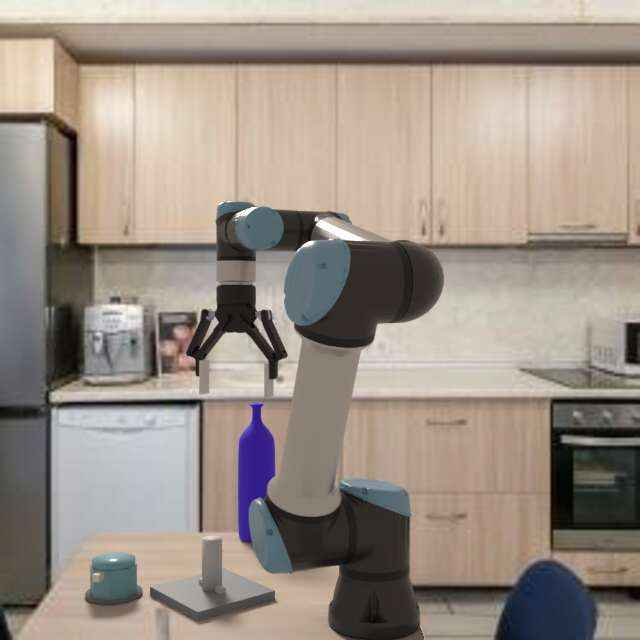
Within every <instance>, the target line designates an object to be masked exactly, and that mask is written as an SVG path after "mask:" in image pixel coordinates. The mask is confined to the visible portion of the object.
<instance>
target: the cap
mask: <svg viewBox="0 0 640 640" xmlns="http://www.w3.org/2000/svg"><path fill="white" fill-rule="evenodd" d="M89 571H90V572H89V573H90V575H89V576H90V577H89V579H90V584H89V586H90V587H89V589H90V592H91V594H92V596H93V598H97V599H104V600H114V599H121V598H127V597H129V596H131V595H132V594H134V593H136V592H137V585H138V564H137V562H136V556H135V555H134V554H132V553H129V552H119V551H118V552H116V551H115V552H106V553H101V554H98V555H95V556H94V557H92V558H91V564H90V565H89Z"/></svg>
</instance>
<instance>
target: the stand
mask: <svg viewBox="0 0 640 640" xmlns="http://www.w3.org/2000/svg"><path fill="white" fill-rule="evenodd" d="M149 596H151V597H153V598H155V599H157V600H158V601H160V602H162V603H164V604H166V605H168V606H169V607H172V608H173V609H175V610H176V611H179V612H180V613H182V614H184V615H186V616H187V617H190V618H191V619H193V620H194V621H197V622H199V621H203V620H206V619H210V618H213V617H218V616H220V615H224V614H227V613H231V612H234V611H237V610H241V609H246V608H248V607H251V606H256V605H259V604H262V603H265V602H269V601H273V600H276V590H275V589H272V588H270V587H268V586H266V585H263V584H261V583H259V582H256V581H255V580H252V579H249V578H247V577H245V576H243V575H241V574H239V573H237V572H234V571H231V570H230V569H227V568H223V537H222V536H220V535H207V536H203V537H202V538H201V574H200V573H199V574H195V575H191V576H187V577H183V578H179V579H174V580H172V581H167V582H163V583H160V584H154V585H151V586H149Z"/></svg>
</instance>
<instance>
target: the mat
mask: <svg viewBox="0 0 640 640" xmlns="http://www.w3.org/2000/svg"><path fill="white" fill-rule="evenodd" d="M142 596H143V587H142V586H141V585H138V584H137V592H136V593H134V594H132V595H131V596H129V597H127V598H121V599H114V600H104V599H97V598H93V596H92V594H91V592H90V588H89V589H87V590H86V591H85V593H84V599H85V600H86V602H88V603H90V604H92V605H98V606H116V605H117V606H118V604H119V605H124V604H127V603H128V602H129V603H131V602H130V601H132V602H134V601H136V599H137V600H138V599H139V598H140V599H141V597H142ZM123 603H124V604H123ZM129 603H128V604H129Z"/></svg>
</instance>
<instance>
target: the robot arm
mask: <svg viewBox="0 0 640 640" xmlns="http://www.w3.org/2000/svg"><path fill="white" fill-rule="evenodd" d="M215 227H216V230H215V231H216V232H215V233H216V238H215V239H216V240H215V241H216V246H215V247H216V269H215V270H216V275H215V276H216V277H215V281H216V282H217V283H219V284H218V285H217V286H216V290H215V291H216V292H215V294H216V296H215V297H216V302H215V303H216V309H215V310H213V309H211V308H203V309H202V310H201V312H200V321H199V323H198V325H197V327H196V329H195V332H194V333H193V335H192V338H191V340H190V342H189V344H188V347H187V349H186V353H185V355H186V357H190V358H192V359H194V361H195V368H194V369H195V371H194V372H195V377H198V379H199V380H198V382H199V383H198V384H199V385H198V387H199V388H198V393H199V395H206V394H210V359H207V356H208V355H209V354H210V352H211V351H212V350H213V348H214V347H215V346H216V344H217V343H219V341H220V339H222V337H223V335H225V334H226V333H227V334H232V333H237V334H243V333H245V334H246V335H247V336H249V337H250V338H251V340H252V341H253V342H254V344H255V345H256V346H257V348H258V349H259V350H260V352H261V353H262V354H263V356H264V357H265V358H266V359H267V361H266V362H264V364H263V365H264V368H263V369H264V372H263V373H264V374H263V378H264V380H263V383H264V384H263V385H264V386H263V387H264V388H263V390H264V392H263V394H264V395H263V398H270V397H273V396H274V387H275V386H274V380H277V379H278V377H279V361H281V360H284V359H286V358H288V356H289V355H288V352H287V350H286V348H285V345H284V343H283V341H282V339H281V337H280V333H278V330H277V327H276V326H275V323H274V321H273V312H272V310H271V309H270V308H269V309H268V308H266V309H261V310H257V308H256V304H257V287H256V286H255V285H253V283H256V282H257V277H256V276H257V274H256V273H257V269H256V268H257V263H256V262H257V251H264V252H265V251H266V252H267V251H271V252H295V253H294V255H293V256H292V258H291V260H290V262H289V265H288V268H287V271H286V273H285V274H286V275H285V279H284V284H283V294H284V299H283V304H284V310H285V312H286V316H287V318H288V319H289V320H290V322H292V323H294V324H293V329H294V332H295V333H296V334H297V335H298V336H299V338H300V339H301V345H300V351H299V357H298V363H297V368H296V369H297V370H296V374H295V380H294V386H293V390H292V391H293V393H292V398H291V404H290V410H289V415H288V422H287V427H286V434H285V439H284V445H283V451H282V457H281V463H280V470H279V473H278V474H275V476H274V477H273V478H272V479H271V480H270V481H269V483H268V486H267V492H266V497H265V498H258V499H255V500H254V501H252V502H251V504H250V507H249V527H250V534H251V539H252V542H251V543H252V547H253V550H254V553H255V556H256V558H257V560H258V562H259V564H260V566H261V567H262V569H263V570H264V571H266V572H267V573H269V574H274V575H275V574H289V575H290V574H293V573H295V572H303V571H310V570H316V569H317V570H318V569H322V568H329V567H338V576H337V580H336V583H335V587H334V590H333V591H334V592H333V596H332V600H331V601H330V603H329V605H328V610H327V613H328V614H327V615H328V617H327V621H328V625H329V626H330V628H332V629H333V630H334V631H335V632H337V633H339V634H342V635H345V636H348V637H351V638H356V639H362V640H392V639H398V638H402V637H405V636H409V635H411V634H413V633H415V632H416V631H417V630H418V629H419V627H420V626H421V611H420V610H421V608H420V605H419V603H417V598H416V593H415V590H414V587H413V584H412V579H411V577H410V576H411V574H410V573H411V572H410V570H411V568H410V567H411V566H410V565H411V561H410V560H411V559H410V558H411V554H410V553H411V551H410V550H411V517H412V513H411V511H412V510H411V501H410V495H409V493H408V491H407V489H405V488H404V487H402V486H400V485H398V484H396V483H391V482H387V481H382V480H378V479H371V478H359V477H351V478H350V477H349V478H345V479H341V480H340V481H339V485H336V484H335V483H336V479H337V478H336V477H337V472H338V467H339V463H340V458H341V454H342V453H341V452H342V447H343V442H344V437H345V433H346V428H347V423H348V418H349V414H350V413H349V411H350V407H351V402H352V397H353V392H354V388H355V382H356V377H357V373H358V367H359V363H360V357H361V353H362V351H363V350H365V349H367V348H368V347H371V346H372V344H373V343H374V341H375V337H376V331H377V329H378V325H381V324H382V325H383V324H403V323H407V322H412V321H414V320H416V319H419V318H421V317H423V316H424V315H426V314H427V313H429V312H430V311H431V310H432V309H433V308H434V307H435V306H436V304H437V303H438V302H439V299H440V298H441V295H442V293H443V290H444V289H443V288H444V285H445V275H444V274H445V273H444V268H443V266H442V263H441V261H440V259H439V258H438V257H437V255H436V254H435V253H434V252H433V251H432V250H430V248H427V247H426V246H424V245H421V244H418V243H416V242H415V241H412V240H408V239H397V240H391V239H389V238H387V237H384V236H381V235H379V234H377V233H374V232H372V231H369V230H368V229H364V228H362V227H360V226H358V225H355V224H353V223H352V220H350V217H349V216H348V215H347V214H345V213H343V212H336V211H330V210H328V211H315V210H314V211H311V210H295V209H294V210H293V209H292V210H291V209H276V208H272V207H268V206H263V205H262V206H257V205H255V204H253V202H248V201H239V200H237V201H235V200H234V201H223V202H220V203H219V204H218V205H217V207H216V218H215ZM257 318H258V320H259V321H260V323H262V327H263V328H264V331H265V334H266V336H267V338H268V340H269V342H268V341H267V340H266V338H265V337H264V335H263V334H262V333H261V332H260V329H259V328H258V327H257V325H256V324H255V322H256V319H257ZM214 319H216V321H217V322H218V323H217V324H216V325H215V326H214V328H213V331H212V332H211V333H210V334H209V336H208V337H207V338H206V336H207V333H208V330H209V328H210V326H211V324H212V321H214ZM205 338H206V340H205V341H204V339H205ZM203 341H204V342H203Z"/></svg>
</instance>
